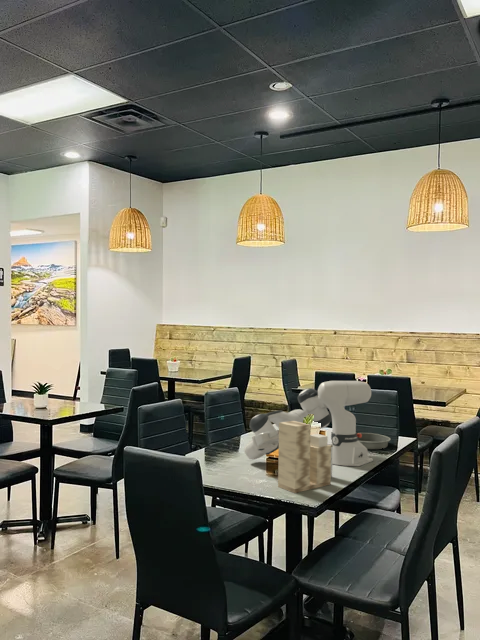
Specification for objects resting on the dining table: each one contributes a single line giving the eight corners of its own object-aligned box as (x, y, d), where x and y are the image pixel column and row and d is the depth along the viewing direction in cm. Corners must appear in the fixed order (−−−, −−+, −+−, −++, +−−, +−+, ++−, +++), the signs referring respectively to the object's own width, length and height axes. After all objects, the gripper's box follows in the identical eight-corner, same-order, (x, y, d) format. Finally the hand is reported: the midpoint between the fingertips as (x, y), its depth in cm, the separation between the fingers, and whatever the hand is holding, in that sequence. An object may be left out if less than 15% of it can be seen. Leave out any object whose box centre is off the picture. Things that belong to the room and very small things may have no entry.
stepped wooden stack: (313, 478, 241) (314, 418, 241) (330, 484, 233) (331, 421, 233) (278, 486, 229) (279, 422, 229) (294, 493, 221) (295, 426, 221)
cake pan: (382, 452, 293) (382, 443, 293) (337, 446, 306) (337, 438, 306) (396, 444, 314) (396, 435, 314) (353, 438, 327) (353, 430, 327)
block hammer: (294, 437, 249) (294, 428, 249) (327, 445, 233) (327, 436, 233) (285, 438, 246) (286, 429, 246) (318, 447, 230) (318, 437, 230)
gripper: (287, 445, 263) (305, 434, 254) (253, 450, 251) (271, 440, 241) (283, 432, 266) (300, 421, 256) (249, 437, 253) (266, 426, 244)
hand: (286, 430), depth 249 cm, fingers open, 8 cm apart
